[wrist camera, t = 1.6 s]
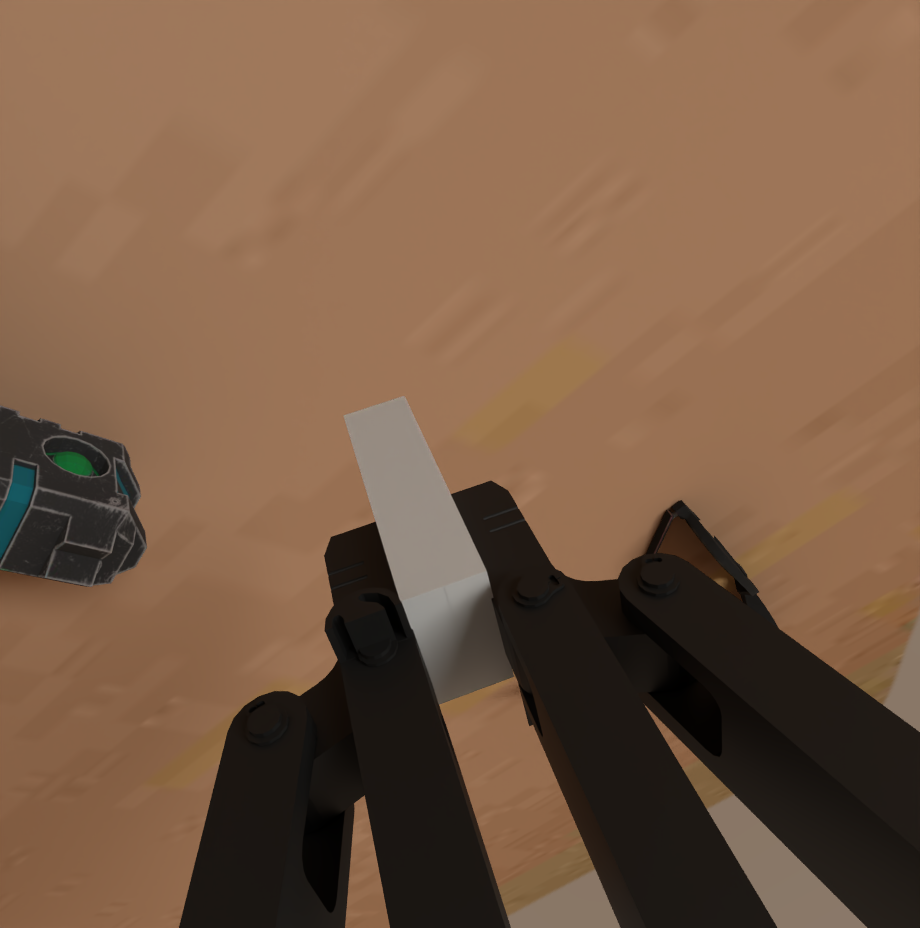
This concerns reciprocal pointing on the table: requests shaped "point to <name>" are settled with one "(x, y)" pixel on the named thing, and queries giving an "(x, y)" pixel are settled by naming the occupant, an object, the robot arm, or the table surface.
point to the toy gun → (66, 503)
